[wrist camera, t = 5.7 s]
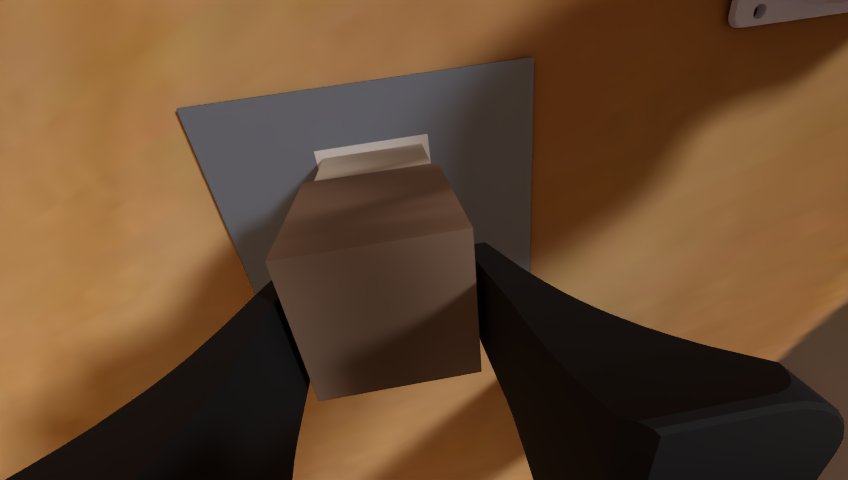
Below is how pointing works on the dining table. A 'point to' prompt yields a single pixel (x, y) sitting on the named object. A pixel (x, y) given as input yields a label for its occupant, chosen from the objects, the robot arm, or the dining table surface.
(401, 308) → the walnut block
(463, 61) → the dining table surface
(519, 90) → the mat
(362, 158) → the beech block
